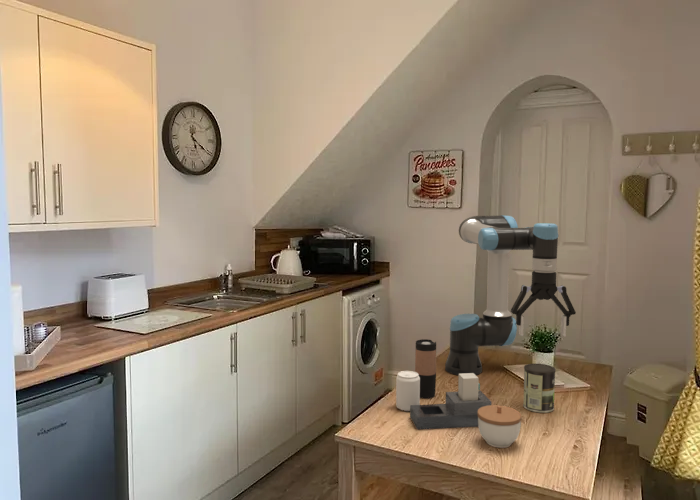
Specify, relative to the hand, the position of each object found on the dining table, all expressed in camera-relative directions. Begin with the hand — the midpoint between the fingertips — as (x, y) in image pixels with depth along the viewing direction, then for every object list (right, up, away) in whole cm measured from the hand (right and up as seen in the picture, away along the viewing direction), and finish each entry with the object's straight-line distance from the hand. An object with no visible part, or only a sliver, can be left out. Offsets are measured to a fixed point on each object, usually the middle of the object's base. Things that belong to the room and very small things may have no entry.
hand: (542, 335), depth 181 cm
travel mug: (-35, -26, +22) cm, 49 cm away
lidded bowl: (-19, -30, -17) cm, 39 cm away
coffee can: (+2, -27, +10) cm, 29 cm away
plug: (-25, -24, -1) cm, 34 cm away
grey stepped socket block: (-31, -28, -1) cm, 41 cm away
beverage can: (-43, -27, +10) cm, 52 cm away
